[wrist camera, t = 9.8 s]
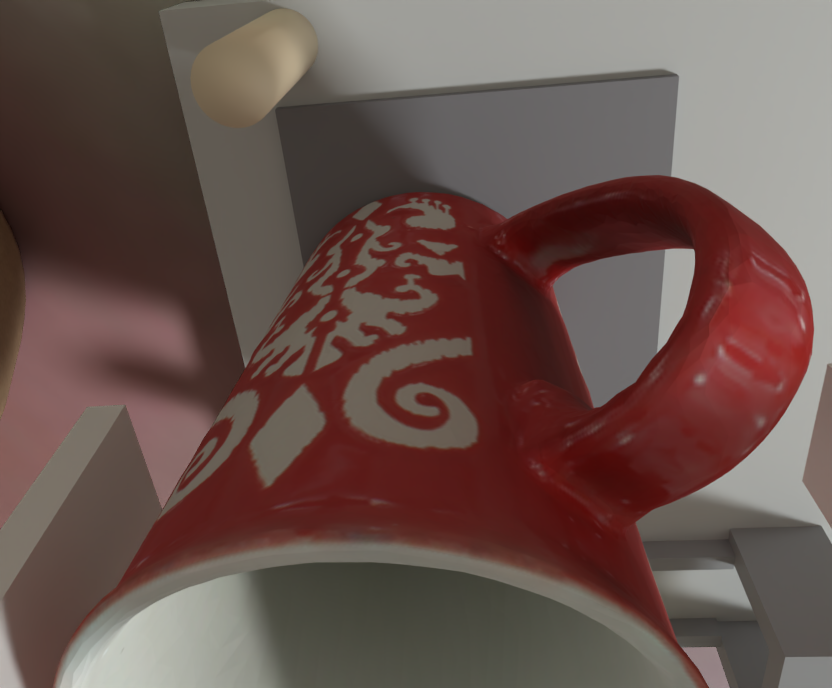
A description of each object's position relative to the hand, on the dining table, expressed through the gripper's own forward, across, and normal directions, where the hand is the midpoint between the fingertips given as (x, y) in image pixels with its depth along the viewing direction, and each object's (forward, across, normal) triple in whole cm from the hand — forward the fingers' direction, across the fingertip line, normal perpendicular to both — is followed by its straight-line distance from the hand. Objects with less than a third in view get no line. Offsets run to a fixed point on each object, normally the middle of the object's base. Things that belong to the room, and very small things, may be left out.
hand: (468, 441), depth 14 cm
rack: (+10, +3, -4) cm, 11 cm away
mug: (+8, 0, 0) cm, 8 cm away
